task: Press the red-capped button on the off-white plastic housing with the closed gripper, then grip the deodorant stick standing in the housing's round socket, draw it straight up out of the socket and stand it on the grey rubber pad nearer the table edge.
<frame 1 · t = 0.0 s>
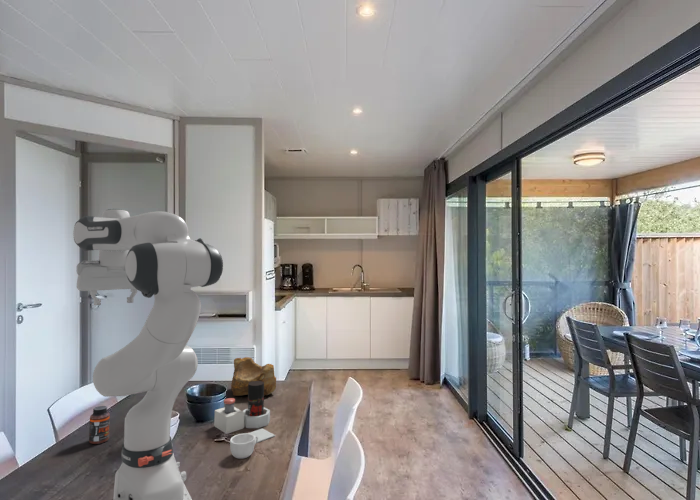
hand: (114, 303, 133), 48 cm above the table, tool pointing down, fingers open, 8 cm apart
plunger: (229, 407, 155), point 7 cm above the table, slide at 0.0 cm
supplement bottle: (99, 441, 142), on the table
pad: (259, 436, 148), on the table
deodorant: (255, 423, 159), resting in housing
rough brown rock: (247, 394, 191), on the table
teacup: (245, 454, 135), on the table
housing: (248, 424, 157), on the table
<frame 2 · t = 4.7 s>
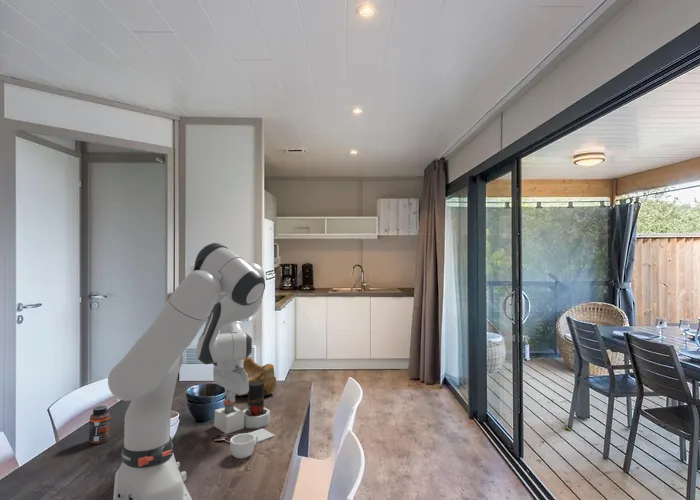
hand: (230, 400, 155), 10 cm above the table, tool pointing down, fingers closed, pressing on plunger
plunger: (229, 408, 155), point 7 cm above the table, slide at 0.3 cm, touching gripper
everything else where it was.
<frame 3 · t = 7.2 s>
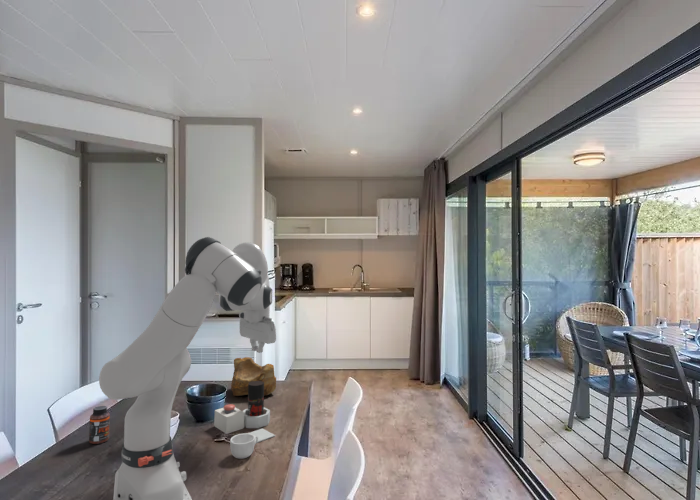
hand: (257, 351, 159), 27 cm above the table, tool pointing down, fingers closed
plunger: (229, 414, 155), point 5 cm above the table, slide at 2.3 cm
everything else where it was.
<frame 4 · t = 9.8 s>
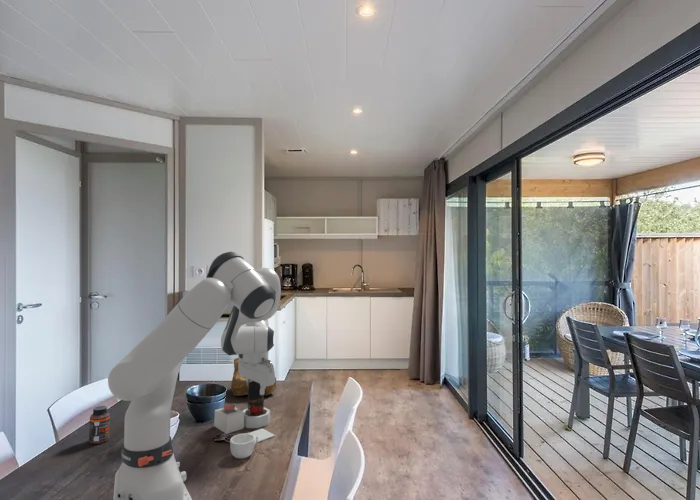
hand: (256, 392, 159), 12 cm above the table, tool pointing down, fingers closed on deodorant, 6 cm apart
deodorant: (255, 423, 159), resting in housing, touching gripper
everything else where it was.
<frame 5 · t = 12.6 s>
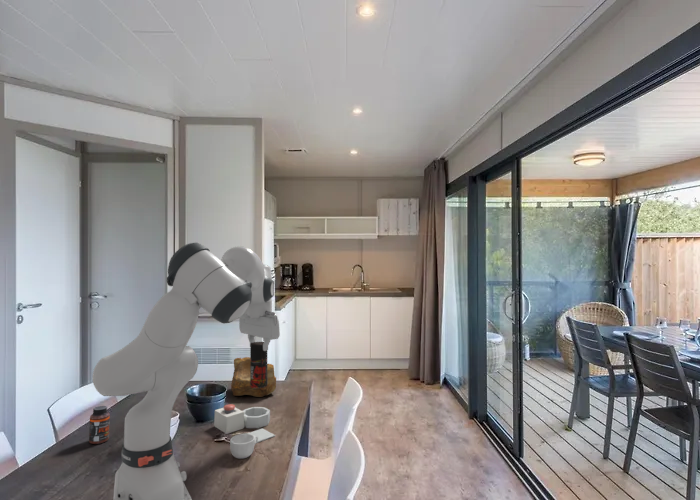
hand: (258, 348, 148), 31 cm above the table, tool pointing down, fingers closed on deodorant, 6 cm apart
deodorant: (258, 386, 148), point 17 cm above the table, touching gripper
everything else where it was.
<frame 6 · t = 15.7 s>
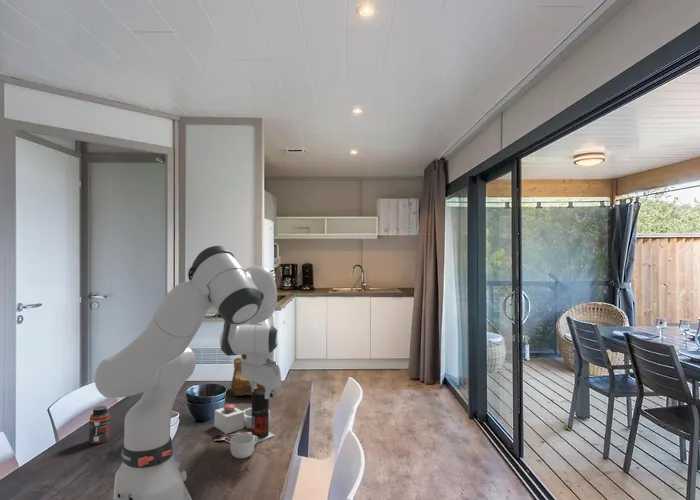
hand: (260, 395, 148), 14 cm above the table, tool pointing down, fingers closed on deodorant, 6 cm apart
deodorant: (260, 435, 148), resting on pad, touching gripper
everything else where it was.
when the fingers open (13 cm above the table, at t = 16.8 s): deodorant stays where it is, resting on pad.
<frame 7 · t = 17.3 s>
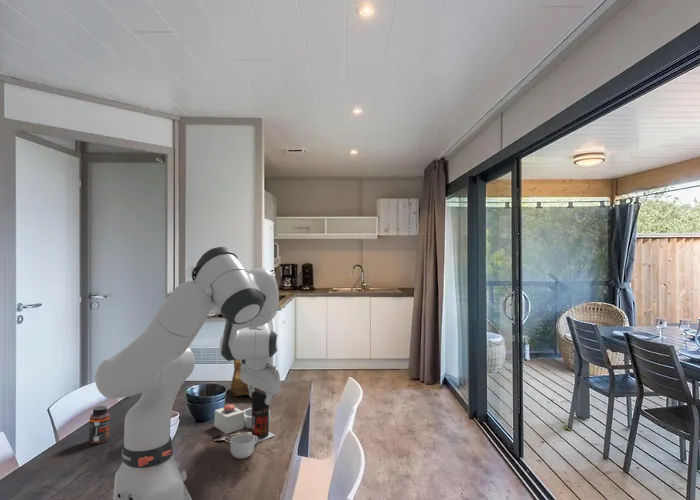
hand: (259, 400, 148), 13 cm above the table, tool pointing down, fingers open, 8 cm apart
deodorant: (260, 435, 148), resting on pad
everything else where it was.
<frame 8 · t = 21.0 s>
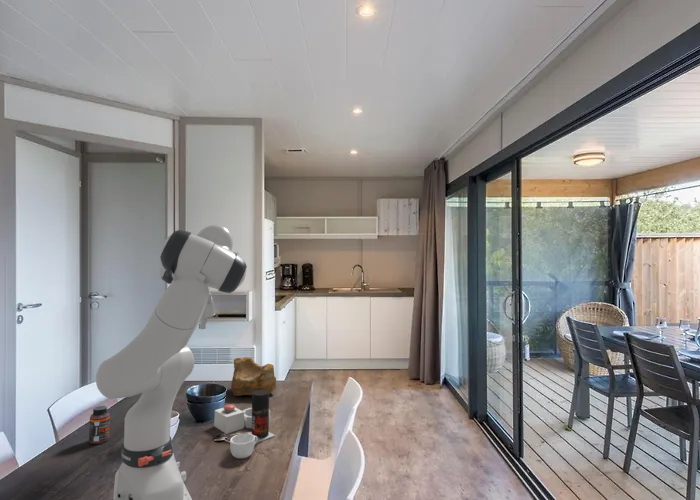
hand: (196, 327, 154), 37 cm above the table, tool pointing down, fingers open, 8 cm apart
nothing on the table moved.
at the end: plunger slide at 2.3 cm; deodorant inside the target area on the pad (0.3 cm from its centre), point 0.2 cm above the pad's base; deodorant tilted 0° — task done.
